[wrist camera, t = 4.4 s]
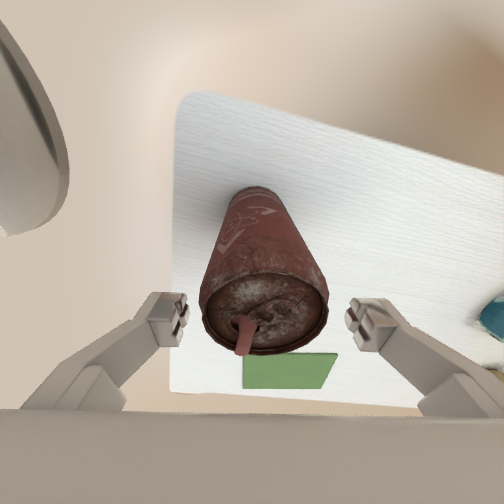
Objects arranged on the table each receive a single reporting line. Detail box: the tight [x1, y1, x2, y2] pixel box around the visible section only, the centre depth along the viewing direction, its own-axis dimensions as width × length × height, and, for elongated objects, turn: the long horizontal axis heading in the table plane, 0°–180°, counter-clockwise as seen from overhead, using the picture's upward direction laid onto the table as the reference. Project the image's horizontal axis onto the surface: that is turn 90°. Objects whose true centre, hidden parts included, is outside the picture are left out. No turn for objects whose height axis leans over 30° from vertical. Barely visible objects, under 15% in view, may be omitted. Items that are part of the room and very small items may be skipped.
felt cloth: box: [243, 353, 338, 389], centre depth 37 cm, size 18×14×1 cm
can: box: [199, 186, 329, 356], centre depth 14 cm, size 6×6×14 cm
